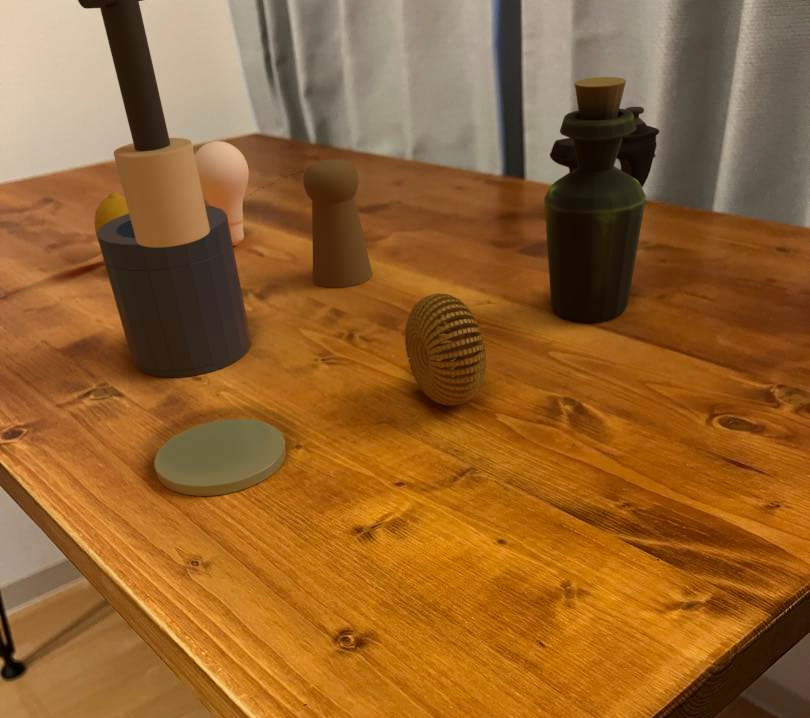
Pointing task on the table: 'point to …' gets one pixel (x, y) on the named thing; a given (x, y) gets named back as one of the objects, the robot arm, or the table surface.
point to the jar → (177, 299)
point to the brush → (151, 143)
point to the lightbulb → (224, 182)
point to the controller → (631, 154)
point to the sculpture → (445, 349)
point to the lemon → (110, 210)
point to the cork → (336, 225)
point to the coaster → (220, 457)
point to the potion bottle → (594, 210)
